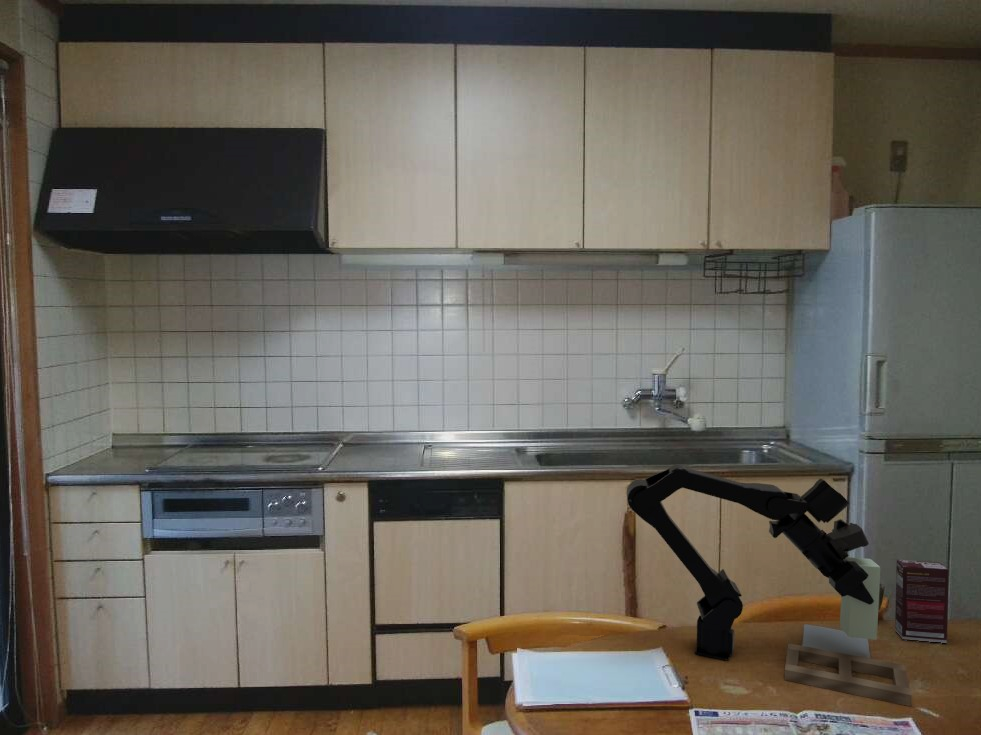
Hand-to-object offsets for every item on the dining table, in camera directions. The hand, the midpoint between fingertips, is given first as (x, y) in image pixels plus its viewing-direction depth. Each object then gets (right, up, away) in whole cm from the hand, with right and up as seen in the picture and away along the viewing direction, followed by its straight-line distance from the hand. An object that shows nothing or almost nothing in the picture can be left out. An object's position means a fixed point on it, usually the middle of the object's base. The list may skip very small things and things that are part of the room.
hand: (866, 597), depth 133 cm
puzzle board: (-7, -13, -5) cm, 16 cm away
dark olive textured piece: (+11, -12, +22) cm, 27 cm away
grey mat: (-2, -13, +8) cm, 15 cm away
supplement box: (+18, -13, +12) cm, 25 cm away
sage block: (-1, -7, 0) cm, 7 cm away
